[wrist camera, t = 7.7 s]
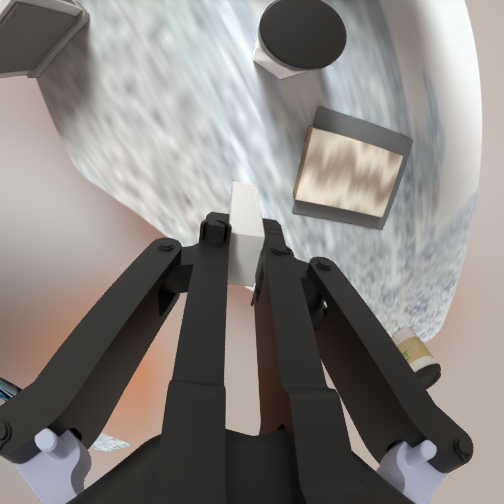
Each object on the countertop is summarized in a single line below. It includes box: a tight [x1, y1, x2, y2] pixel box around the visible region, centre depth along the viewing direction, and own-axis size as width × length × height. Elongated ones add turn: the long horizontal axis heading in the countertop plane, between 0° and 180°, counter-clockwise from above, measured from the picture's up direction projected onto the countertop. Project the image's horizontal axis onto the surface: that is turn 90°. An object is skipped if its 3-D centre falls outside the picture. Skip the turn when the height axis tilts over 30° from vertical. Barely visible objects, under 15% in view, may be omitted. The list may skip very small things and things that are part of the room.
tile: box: [293, 126, 403, 217], centre depth 37 cm, size 10×2×14 cm
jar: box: [252, 0, 347, 79], centre depth 24 cm, size 9×8×12 cm
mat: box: [292, 107, 413, 230], centre depth 38 cm, size 16×16×1 cm
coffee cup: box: [391, 327, 441, 389], centre depth 53 cm, size 10×10×15 cm
